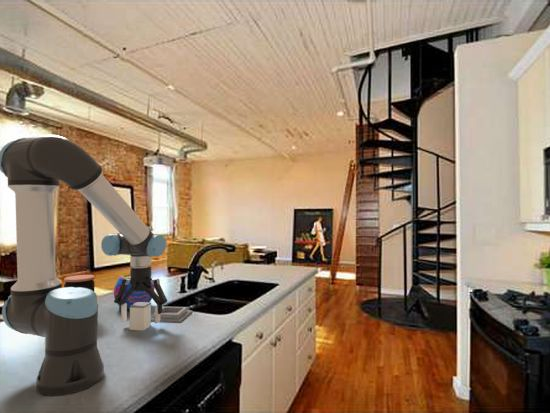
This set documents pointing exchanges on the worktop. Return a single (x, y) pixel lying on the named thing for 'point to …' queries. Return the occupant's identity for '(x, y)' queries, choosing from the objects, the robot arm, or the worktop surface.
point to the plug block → (140, 315)
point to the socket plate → (172, 314)
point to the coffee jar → (80, 281)
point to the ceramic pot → (135, 296)
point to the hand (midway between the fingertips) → (140, 321)
